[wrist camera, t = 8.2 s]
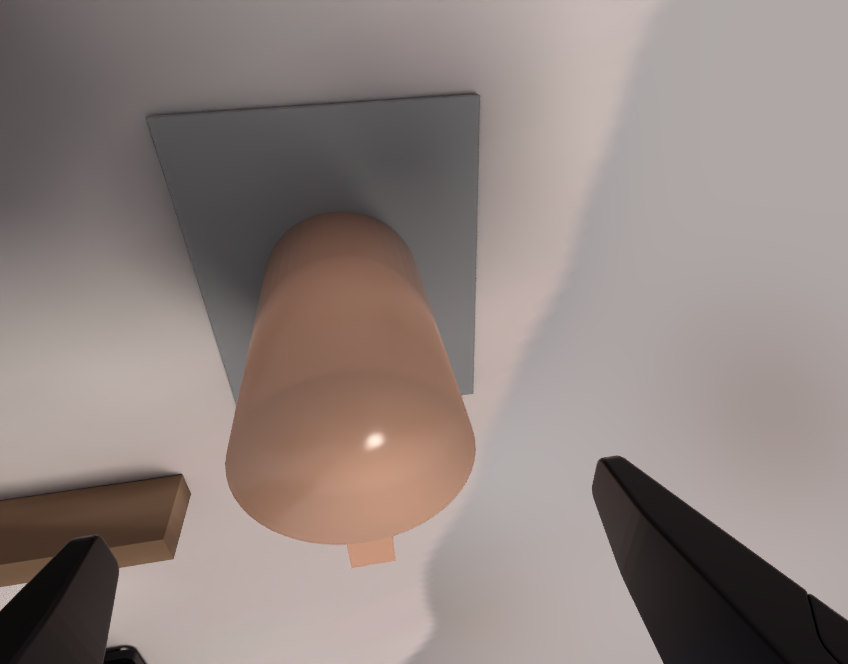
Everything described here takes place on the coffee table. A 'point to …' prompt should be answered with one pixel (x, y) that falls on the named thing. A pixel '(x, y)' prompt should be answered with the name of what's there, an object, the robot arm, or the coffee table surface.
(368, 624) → the coffee table surface
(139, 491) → the holder
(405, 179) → the mat
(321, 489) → the popsicle on stick
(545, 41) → the coffee table surface
